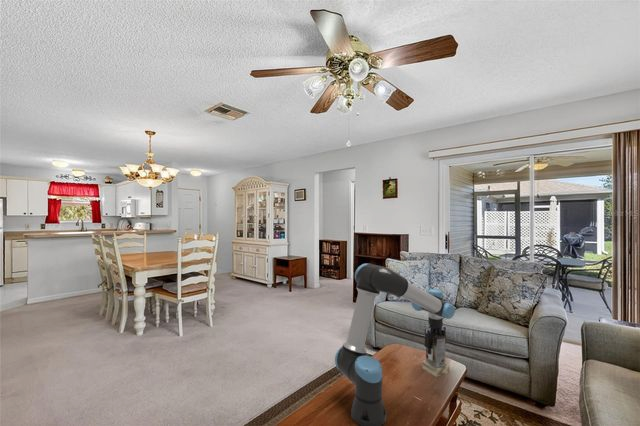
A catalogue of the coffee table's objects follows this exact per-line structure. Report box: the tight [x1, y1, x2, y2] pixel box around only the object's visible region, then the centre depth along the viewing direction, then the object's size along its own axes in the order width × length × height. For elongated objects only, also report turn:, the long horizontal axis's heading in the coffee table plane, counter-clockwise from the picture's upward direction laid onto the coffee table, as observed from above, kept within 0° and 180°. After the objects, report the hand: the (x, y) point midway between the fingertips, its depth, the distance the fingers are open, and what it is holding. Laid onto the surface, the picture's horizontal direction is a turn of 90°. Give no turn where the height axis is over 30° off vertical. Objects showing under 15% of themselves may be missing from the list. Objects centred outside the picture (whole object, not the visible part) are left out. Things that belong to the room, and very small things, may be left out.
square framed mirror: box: [422, 359, 450, 378], centre depth 165 cm, size 10×10×4 cm
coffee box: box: [425, 334, 446, 367], centre depth 165 cm, size 9×6×16 cm
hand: (435, 358), depth 165 cm, fingers closed on coffee box, 7 cm apart
